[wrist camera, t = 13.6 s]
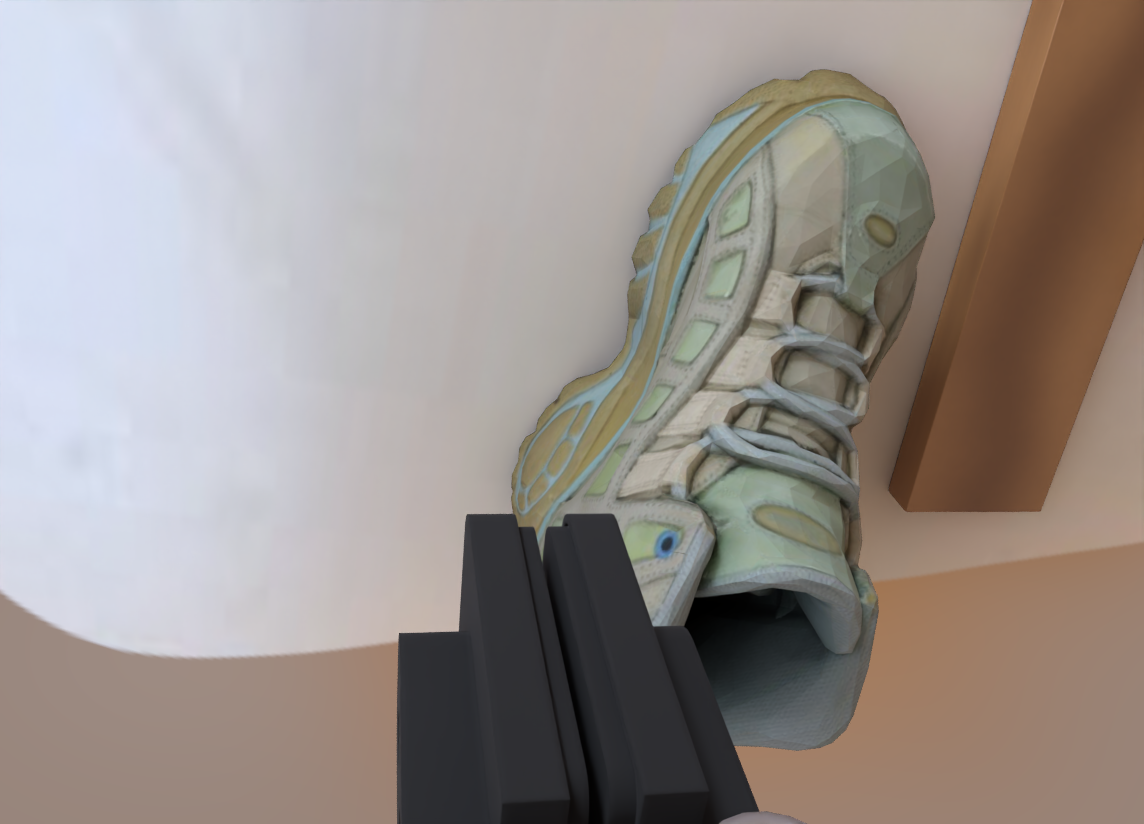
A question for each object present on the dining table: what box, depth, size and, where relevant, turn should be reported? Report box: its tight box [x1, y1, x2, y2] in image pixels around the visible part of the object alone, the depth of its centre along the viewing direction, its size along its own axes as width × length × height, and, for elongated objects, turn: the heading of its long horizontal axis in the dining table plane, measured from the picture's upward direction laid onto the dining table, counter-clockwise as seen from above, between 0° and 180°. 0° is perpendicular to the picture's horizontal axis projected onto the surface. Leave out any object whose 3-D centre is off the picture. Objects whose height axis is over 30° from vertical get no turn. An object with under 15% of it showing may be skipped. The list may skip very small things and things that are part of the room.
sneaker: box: [511, 70, 935, 751], centre depth 30 cm, size 11×19×15 cm, turn 135°
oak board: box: [888, 0, 1144, 512], centre depth 35 cm, size 6×24×2 cm, turn 174°
